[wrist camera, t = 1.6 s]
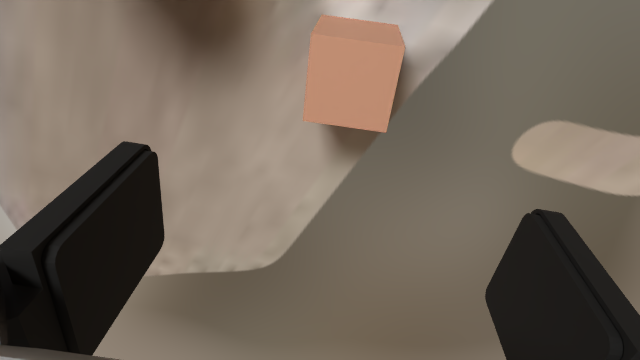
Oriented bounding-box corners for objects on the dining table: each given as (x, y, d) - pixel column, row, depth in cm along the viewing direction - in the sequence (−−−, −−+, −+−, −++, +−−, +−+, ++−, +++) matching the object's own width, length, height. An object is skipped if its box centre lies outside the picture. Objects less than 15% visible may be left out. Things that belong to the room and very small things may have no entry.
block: (397, 24, 26) (405, 46, 21) (382, 97, 28) (386, 132, 23) (321, 14, 26) (311, 33, 21) (314, 88, 29) (302, 120, 23)
